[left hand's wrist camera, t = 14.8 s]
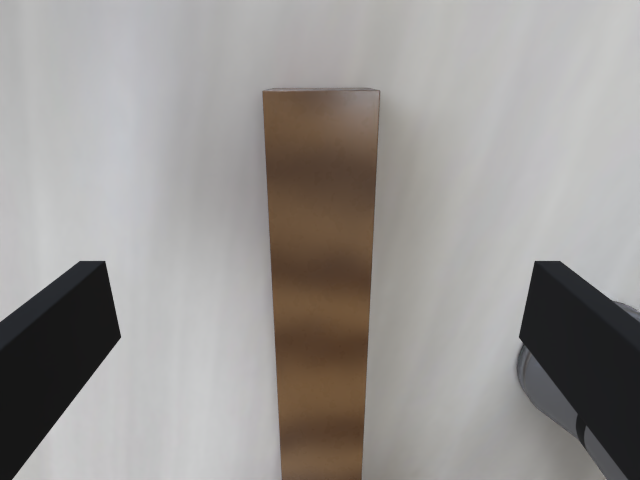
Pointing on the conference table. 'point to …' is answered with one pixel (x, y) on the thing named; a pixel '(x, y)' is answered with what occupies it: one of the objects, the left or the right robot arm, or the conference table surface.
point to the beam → (321, 271)
